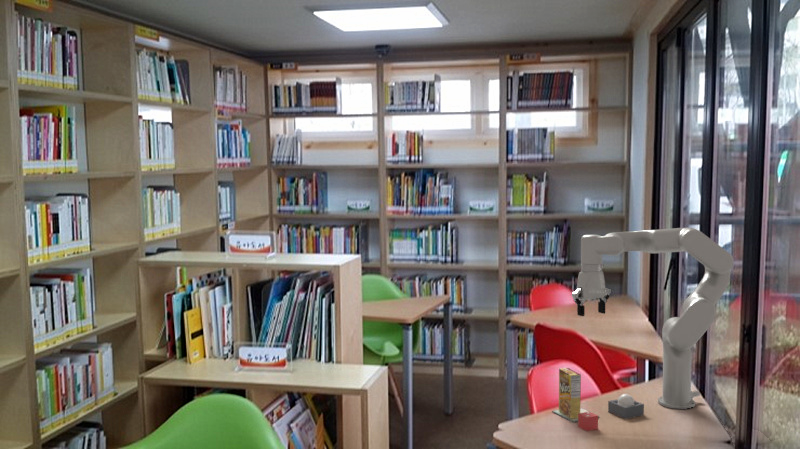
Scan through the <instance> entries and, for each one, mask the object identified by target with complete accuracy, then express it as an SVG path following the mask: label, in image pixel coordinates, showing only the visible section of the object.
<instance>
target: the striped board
mask: <svg viewBox="0 0 800 449" xmlns="http://www.w3.org/2000/svg"><path fill="white" fill-rule="evenodd" d="M551 412H552V413H553V414H554V415H555V414H556V415H557V416H559V417H561V418H563V419H565V420H568V421H570V422H571V423H578V418H573V419H570V418H569V417H567V416H566V415H565V414H563V413H562V412H560V411H559V409H556V410H552V411H551ZM584 412H590V411H588V410H586V409H584V408H582V407H580V413H584ZM599 418H600V415H598V419H599Z"/></svg>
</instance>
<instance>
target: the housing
mask: <svg viewBox="0 0 800 449" xmlns="http://www.w3.org/2000/svg"><path fill="white" fill-rule="evenodd" d="M607 406H608V407H607V408H608V409H607V410H608V411H607V412H609V413H610V414H613V415H615V416H618V417H620V418H621V419H625V420H626V419H631V418H635V417H639V416H644V415H645V404H644V403H642V402H640V401H637V400H634V405H631V406H627V407H625V406H622V405H620V404H618V398H617V399H612V400H608V404H607Z"/></svg>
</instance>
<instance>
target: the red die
mask: <svg viewBox="0 0 800 449" xmlns="http://www.w3.org/2000/svg"><path fill="white" fill-rule="evenodd" d="M598 416H599V415H598V414H596V413H594V412H592V411H589V412H584V413H579V414H578V422H577V428H580V429H582V430H584V431H586V432H588V431H589V432H591V431H594V430H598V429H599V418H598Z"/></svg>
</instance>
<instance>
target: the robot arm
mask: <svg viewBox="0 0 800 449" xmlns="http://www.w3.org/2000/svg"><path fill="white" fill-rule="evenodd" d="M624 252H643V253H648V254H665V253H679V252H680V253H681V252H686V253H687V254H688V255H690V256H692V258H694V259H695V260H696V261H698V262H699V263H700V264H701V265H702V266H704V274H703V277H702V278H701V280H700V282H699V283H698V284H697V286H696V287H695V288H694V289H693V291H692V292H691V293H690V294H689V296H688V297H687V298H686V299H685V300H684V301H683V304H682V311H683V313H682V314H681V315H680V316H679V317H678V316H674V317H670V318H667V320H666V321H665V322H664V323H663V326H662V329H661V334H662V336H661V337H662V339H661V340H662V349H663V350H662V395H661V396H659V397H658V398H657V402H658V404H659V405H660V406H663V407H666V408H670V409H675V410H688V409H687V408H690V409H692V408H691V407H693V408H694V407H695V406H696V401H695V400H693V398H695V397H699V396H700V395H701V394H700V391H699V390H694V391H692V390H691V389H692V348H693V346H695V345H696V344H697V343H698V341H699V340H700V339H701V338H702V337H703V336H704V334H705V333H706V332H707V331H708V329H709V328H710V327H711V325H712V324H713V323H714V321H715V320H716V317H717V309H716V304H717V303H718V302H719V301H720V299H721V298H722V296H723V295H724V294H725V292H726V291H727V288H728V286H729V283H730V280H731V270H732V269H733V267H734V264H735V263H734V257H733V256H732V254H731V253H730V252H729V251H728V250H726V249H725V248H723V247H722V246H720V244H718V243H717V242H715V241H714V240H713V239H711V238H710V237H709V236H707V235H706V234H705V233H703V232H702V231H701V230H699V229H696V228H694V227H676V228H675V227H674V228H673V227H672V228H661V229H647V230H646V229H645V230H635V231H634V230H632V231H631V230H630V231H619V232H618V231H617V232H609V233H607V234H605V235H602V236H601V235H599V234H584V235H582V236H581V239H580V271H579V272H578V276H577V282H576V290H575V291H573V292H572V293H571V297H572V299H573V302H574V303H575V304H576V305H577V306H576V307H577V309H576V310H577V311H576V312H577V313H576V314H577V316H580V317H585V309H586V308H585V305H584V303H585V302H586V301H588V300H590V301H591V300H598V303H597V305H598V306H597V311H598V312H597V313H599V314H603V315H604V314H606V303H607V302H608V300H609V298H610V294H611V291H612V290H611V289H609V288H608V287H606V280H605V276H604V275H605V274H604V271H603V268H604V264H603V255H607V256H619V255H621V254H623V253H624Z"/></svg>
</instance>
